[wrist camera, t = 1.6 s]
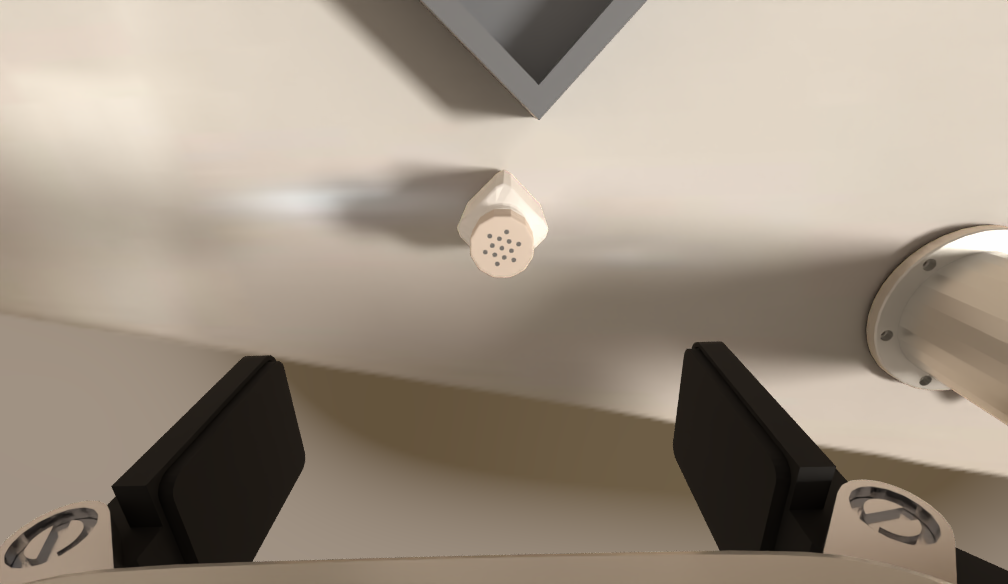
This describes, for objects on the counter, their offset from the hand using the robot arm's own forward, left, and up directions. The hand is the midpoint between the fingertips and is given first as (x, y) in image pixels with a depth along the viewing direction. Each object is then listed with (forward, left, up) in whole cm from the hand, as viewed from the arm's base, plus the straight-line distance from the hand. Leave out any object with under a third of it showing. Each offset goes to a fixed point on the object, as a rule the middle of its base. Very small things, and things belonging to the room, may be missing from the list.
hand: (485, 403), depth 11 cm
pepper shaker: (0, 0, -23) cm, 23 cm away
